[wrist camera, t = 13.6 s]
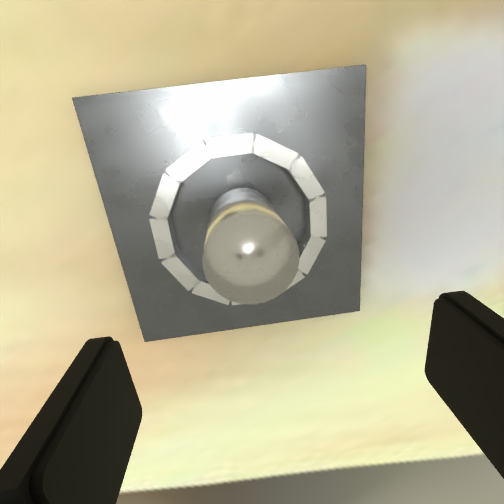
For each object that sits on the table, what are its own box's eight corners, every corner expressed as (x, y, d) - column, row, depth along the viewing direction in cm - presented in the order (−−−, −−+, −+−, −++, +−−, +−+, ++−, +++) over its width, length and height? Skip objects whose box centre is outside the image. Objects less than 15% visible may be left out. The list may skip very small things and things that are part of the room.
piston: (272, 184, 22) (296, 208, 15) (277, 247, 24) (301, 297, 17) (204, 192, 22) (194, 220, 15) (214, 255, 24) (210, 310, 17)
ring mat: (362, 66, 21) (376, 59, 19) (357, 307, 28) (367, 320, 26) (76, 98, 20) (60, 95, 18) (146, 337, 27) (140, 353, 25)
